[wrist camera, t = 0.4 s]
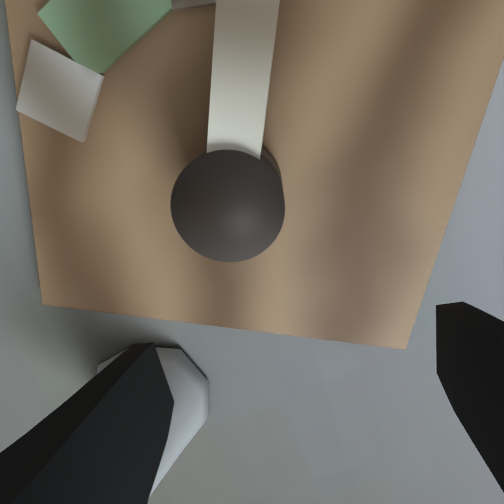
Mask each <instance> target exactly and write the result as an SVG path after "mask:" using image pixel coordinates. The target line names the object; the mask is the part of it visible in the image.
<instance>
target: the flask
mask: <svg viewBox="0 0 504 504" xmlns="http://www.w3.org/2000/svg"><path fill="white" fill-rule="evenodd" d="M155 348H156V350H157V353H158V356H159V359H160V362H161V365H162V367H163V370H164V373H165V376H166V379H167V382H168V384H169V387H170V390H171V393H172V396H173V399H174V407H173V413H172V419H171V424H170V429H169V434H168V439H167V443H166V446H165V449H164V452H163V456H162V459H161V462H160V465H159V468H158V472H157V475H156V478H155V481H154V484H153V487H152V490H151V493H150V496H151V494H152V492H153V491H154V489H155V488H156V487H157V485H158V484H159V482H160V481H161V480H162V478H163V477H164V475H165V474H166V473H167V471H168V470H169V468H170V467H171V466H172V464H173V463H174V461H175V460H176V459H177V457H178V456H179V454H180V453H181V452H182V450H183V449H184V448H185V447H186V445H187V444H188V443H189V441H190V440H191V439H192V438H193V436H194V435H195V434H196V432H197V431H198V430H199V429H200V427H201V426H202V425H203V423H204V422H205V420H206V419H207V418H208V398H209V382H208V380H207V379H206V378H205V377H204V376H203V375H202V373H201V372H200V371H199V370H198V369H197V368H196V366H195V365H194V364H193V363H192V362H191V361H190V359H189V358H188V357H187V356H186V355H185V354H184V352H183V351H182V350H181V349H172V348H160V347H155ZM127 349H128V348H127ZM127 349H126V350H127ZM124 351H125V350H124ZM124 351H122V352H120V353H118V354H117V355H115V356H113V357H111V358H110V359H108V360H106V361H104V362H103V363H101V364H99V365H98V367H97V374H98V373H99V372H100V371H101V370H103V369H104V368H105V367H106V366H107V365H108V364H110V363H111V362H112V361H113V360H114V359H115V358H117V357H118V356H119V355H120V354H121V353H123V352H124ZM97 374H96V375H97ZM150 496H149V498H150Z"/></svg>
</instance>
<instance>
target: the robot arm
mask: <svg viewBox="0 0 504 504" xmlns="http://www.w3.org/2000/svg"><path fill="white" fill-rule="evenodd" d="M436 352H437V374H438V377H439V379H440V381H441V383H442V386H443V388H444V390H445V393H446V395H447V397H448V399H449V401H450V403H451V405H452V407H453V410H454V412H455V413H456V415H457V417H458V418H459V420H460V422H461V423H462V425H463V427H464V428H465V430H466V432H467V433H468V435H469V437H470V438H471V440H472V442H473V443H474V445H475V446H476V448H477V450H478V451H479V453H480V455H481V456H482V458H483V459H484V461H485V463H486V464H487V466H488V468H489V469H490V471H491V472H492V474H493V476H494V477H495V479H496V481H497V482H498V484H499V485H500V487H501V489H502V490H503V492H504V321H502V320H500V319H498V318H496V317H494V316H492V315H490V314H488V313H486V312H484V311H482V310H480V309H478V308H476V307H474V306H471V305H469V304H467V303H465V302H456V303H449V304H441V305H436ZM173 407H174V399H173V396H172V393H171V390H170V387H169V384H168V382H167V379H166V376H165V373H164V370H163V367H162V365H161V362H160V359H159V356H158V353H157V350H156V348H155V345H154V343H146V344H139V345H132V346H131V347H129V348H128V349H127V350H125V351H124V352H123V353H121V354H120V355H119V356H118V357H117V358H115V359H114V360H113V361H112V362H111V363H110V364H108V365H107V366H106V367H105V368H104V369H103V370H101V371H100V372H99V373H98V374H97V375H96V376H95V377H93V378H92V379H91V380H90V381H89V382H88V383H86V384H85V385H84V386H83V387H82V388H81V389H79V390H78V391H77V392H76V393H75V394H74V395H72V396H71V397H70V398H69V399H68V400H67V401H65V402H64V403H63V404H62V405H61V406H59V407H58V408H57V409H56V410H54V411H53V412H52V413H51V414H49V415H48V416H47V417H46V418H45V419H43V420H42V421H41V422H40V423H38V424H37V425H36V426H35V427H33V428H32V429H31V430H30V431H28V432H27V433H26V434H25V435H23V436H22V437H21V438H19V439H18V440H17V441H16V442H14V443H13V444H12V445H10V446H9V447H7V448H6V449H5V450H3V451H2V452H1V453H0V504H147V502H148V499H149V496H150V493H151V490H152V487H153V484H154V481H155V478H156V475H157V472H158V468H159V465H160V462H161V459H162V456H163V452H164V449H165V446H166V443H167V439H168V434H169V429H170V424H171V419H172V413H173Z"/></svg>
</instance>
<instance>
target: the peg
mask: <svg viewBox="0 0 504 504" xmlns="http://www.w3.org/2000/svg"><path fill="white" fill-rule="evenodd" d="M279 2H280V0H216V13H215V29H214V44H213V60H212V75H211V91H210V106H209V122H208V138H207V150H206V151H205V152H203V153H202V154H201V155H200V156H198V157H197V158H196V159H194V160H193V161H192V162H191V163H189V164H188V165H187V166H186V167H185V168H184V169H183V170H182V172H181V173H180V174H179V176H178V178H177V180H176V181H175V184H174V186H173V189H172V193H171V201H170V207H171V215H172V219H173V223H174V225H175V227H176V230H177V232H178V233H179V235H180V236H181V238H182V239H183V240H184V242H185V243H186V244H187V245H188V246H189V247H190V248H192V249H193V250H194V251H196V252H197V253H199V254H200V255H202V256H204V257H207V258H209V259H212V260H215V261H220V262H240V261H245V260H248V259H251V258H253V257H255V256H257V255H259V254H260V253H262V252H263V251H265V250H266V249H267V248H268V247H269V246H270V245H271V244H272V243H273V242H274V241H275V239H276V238H277V236H278V234H279V232H280V231H281V228H282V225H283V222H284V217H285V200H284V192H283V185H282V177H281V172H280V169H279V166H278V164H277V162H276V160H275V158H274V157H273V155H272V154H271V153H270V152H269V151H268V150H267V149H266V148H265V147H264V146H262V143H263V135H264V127H265V118H266V110H267V102H268V93H269V85H270V77H271V69H272V60H273V52H274V44H275V35H276V27H277V19H278V11H279Z"/></svg>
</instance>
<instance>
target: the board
mask: <svg viewBox="0 0 504 504" xmlns="http://www.w3.org/2000/svg"><path fill="white" fill-rule="evenodd" d="M5 7H6V15H7V23H8V31H9V39H10V47H11V55H12V63H13V71H14V79H15V88H16V96H17V106H16V110H17V111H18V112H19V120H20V128H21V136H22V144H23V152H24V160H25V168H26V176H27V184H28V192H29V200H30V209H31V217H32V225H33V233H34V241H35V249H36V257H37V265H38V273H39V281H40V289H41V297H42V304H43V305H51V306H59V307H67V308H75V309H83V310H91V311H99V312H107V313H115V314H123V315H131V316H140V317H148V318H156V319H164V320H172V321H180V322H188V323H196V324H204V325H212V326H220V327H228V328H236V329H244V330H252V331H261V332H269V333H277V334H285V335H293V336H301V337H309V338H317V339H325V340H333V341H341V342H349V343H357V344H365V345H373V346H382V347H390V348H398V349H406V346H407V343H408V340H409V337H410V334H411V331H412V328H413V325H414V322H415V319H416V316H417V313H418V310H419V307H420V305H421V302H422V299H423V296H424V293H425V290H426V287H427V284H428V281H429V278H430V275H431V272H432V269H433V266H434V263H435V260H436V257H437V254H438V251H439V248H440V245H441V242H442V239H443V236H444V233H445V230H446V227H447V224H448V221H449V219H450V216H451V213H452V210H453V207H454V204H455V201H456V198H457V195H458V192H459V189H460V186H461V183H462V180H463V177H464V174H465V171H466V168H467V165H468V162H469V159H470V156H471V153H472V150H473V147H474V144H475V141H476V138H477V135H478V132H479V130H480V127H481V124H482V121H483V118H484V115H485V112H486V109H487V106H488V103H489V100H490V97H491V94H492V91H493V88H494V85H495V82H496V79H497V76H498V73H499V70H500V67H501V64H502V61H503V58H504V0H280V2H279V11H278V19H277V27H276V35H275V44H274V52H273V60H272V69H271V77H270V85H269V93H268V102H267V110H266V118H265V127H264V135H263V143H262V146H264V147H265V148H266V149H267V150H268V151H269V152H270V153H271V154H272V155H273V157H274V158H275V160H276V162H277V164H278V166H279V169H280V172H281V177H282V185H283V192H284V200H285V217H284V222H283V225H282V228H281V231H280V232H279V234H278V236H277V238H276V239H275V241H274V242H273V243H272V244H271V245H270V246H269V247H268V248H267V249H266V250H265V251H263V252H262V253H260V254H259V255H257V256H255V257H253V258H251V259H248V260H245V261H240V262H220V261H215V260H212V259H209V258H207V257H204V256H202V255H200V254H199V253H197V252H196V251H194V250H193V249H192V248H190V247H189V246H188V245H187V244H186V243H185V242H184V240H183V239H182V238H181V236H180V235H179V233H178V232H177V230H176V227H175V225H174V223H173V219H172V215H171V207H170V201H171V193H172V189H173V186H174V184H175V181H176V180H177V178H178V176H179V174H180V173H181V172H182V170H183V169H184V168H185V167H186V166H187V165H188V164H189V163H191V162H192V161H193V160H194V159H196V158H197V157H198V156H200V155H201V154H202V153H203V152H205V151H206V150H207V138H208V122H209V106H210V91H211V75H212V60H213V44H214V29H215V13H216V0H5Z"/></svg>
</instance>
